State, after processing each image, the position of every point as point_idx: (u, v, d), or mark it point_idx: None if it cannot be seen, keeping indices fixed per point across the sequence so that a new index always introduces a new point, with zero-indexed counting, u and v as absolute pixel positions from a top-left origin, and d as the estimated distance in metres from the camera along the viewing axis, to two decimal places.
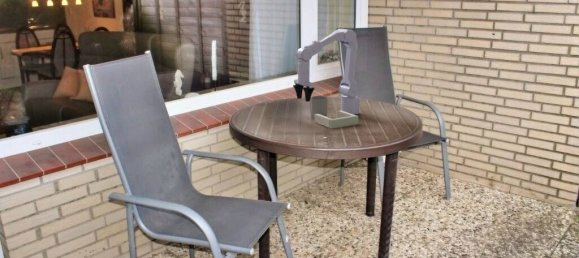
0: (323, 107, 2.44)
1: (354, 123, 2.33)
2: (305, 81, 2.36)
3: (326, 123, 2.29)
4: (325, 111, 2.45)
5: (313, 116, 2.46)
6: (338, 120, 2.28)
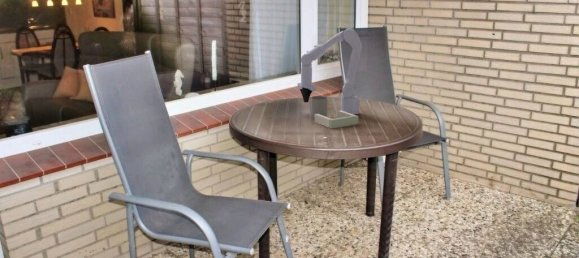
0: (323, 107, 2.44)
1: (354, 123, 2.33)
2: (308, 84, 2.52)
3: (326, 123, 2.29)
4: (325, 111, 2.45)
5: (313, 116, 2.46)
6: (338, 120, 2.28)
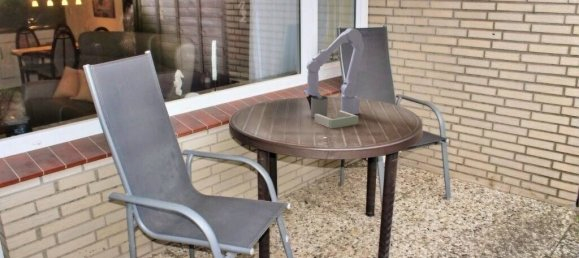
0: (323, 107, 2.44)
1: (354, 123, 2.33)
2: (314, 92, 2.48)
3: (326, 123, 2.29)
4: (325, 111, 2.45)
5: (313, 116, 2.46)
6: (338, 120, 2.28)
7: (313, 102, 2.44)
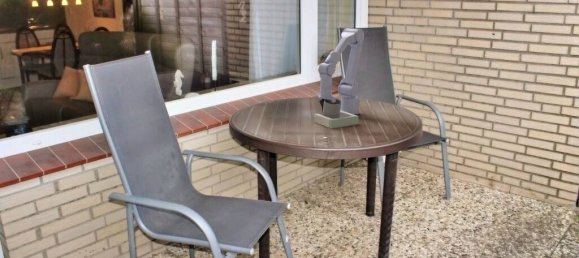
0: (336, 112, 2.34)
1: (354, 123, 2.33)
2: (327, 95, 2.38)
3: (326, 123, 2.29)
4: (338, 116, 2.36)
5: None
6: (338, 120, 2.28)
7: (326, 106, 2.34)
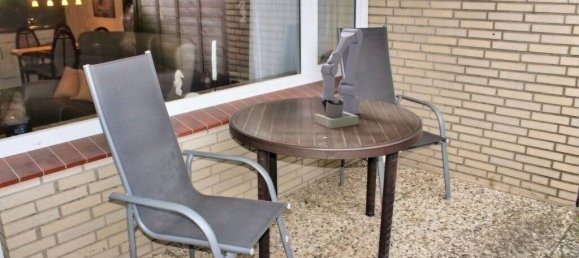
0: (339, 113, 2.32)
1: (354, 123, 2.33)
2: (330, 96, 2.36)
3: (326, 123, 2.29)
4: (340, 117, 2.34)
5: None
6: (338, 120, 2.28)
7: (328, 107, 2.32)
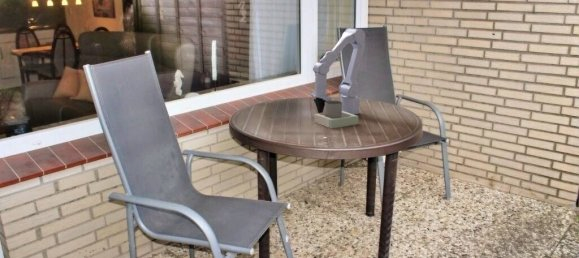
0: (338, 112, 2.33)
1: (354, 123, 2.33)
2: (322, 94, 2.42)
3: (326, 123, 2.29)
4: (340, 116, 2.35)
5: None
6: (338, 120, 2.28)
7: (327, 107, 2.34)
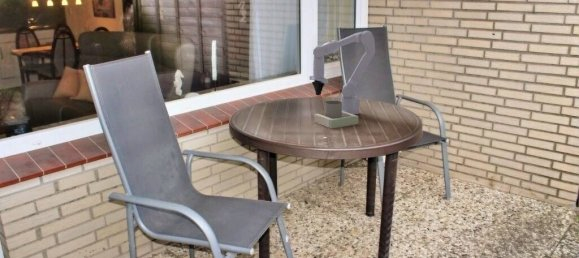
0: (337, 112, 2.33)
1: (354, 123, 2.33)
2: (320, 77, 2.50)
3: (326, 123, 2.29)
4: (340, 116, 2.35)
5: None
6: (338, 120, 2.28)
7: (327, 107, 2.34)
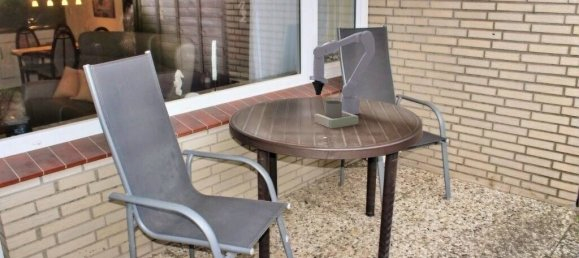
0: (338, 112, 2.33)
1: (354, 123, 2.33)
2: (320, 77, 2.50)
3: (326, 123, 2.29)
4: (340, 116, 2.35)
5: None
6: (338, 120, 2.28)
7: (327, 107, 2.34)
